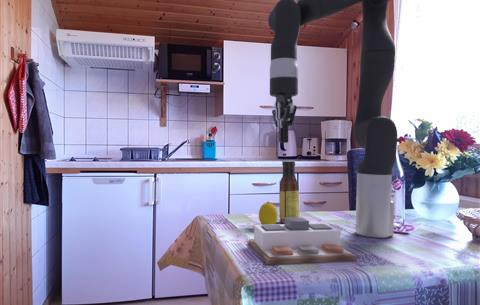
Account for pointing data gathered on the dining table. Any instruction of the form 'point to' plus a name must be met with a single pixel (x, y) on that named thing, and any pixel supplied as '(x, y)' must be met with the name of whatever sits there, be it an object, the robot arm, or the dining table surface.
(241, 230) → the dining table surface
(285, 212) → the sauce bottle
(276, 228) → the button
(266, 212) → the lemon
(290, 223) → the button
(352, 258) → the switch base
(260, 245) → the switch housing
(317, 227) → the button
